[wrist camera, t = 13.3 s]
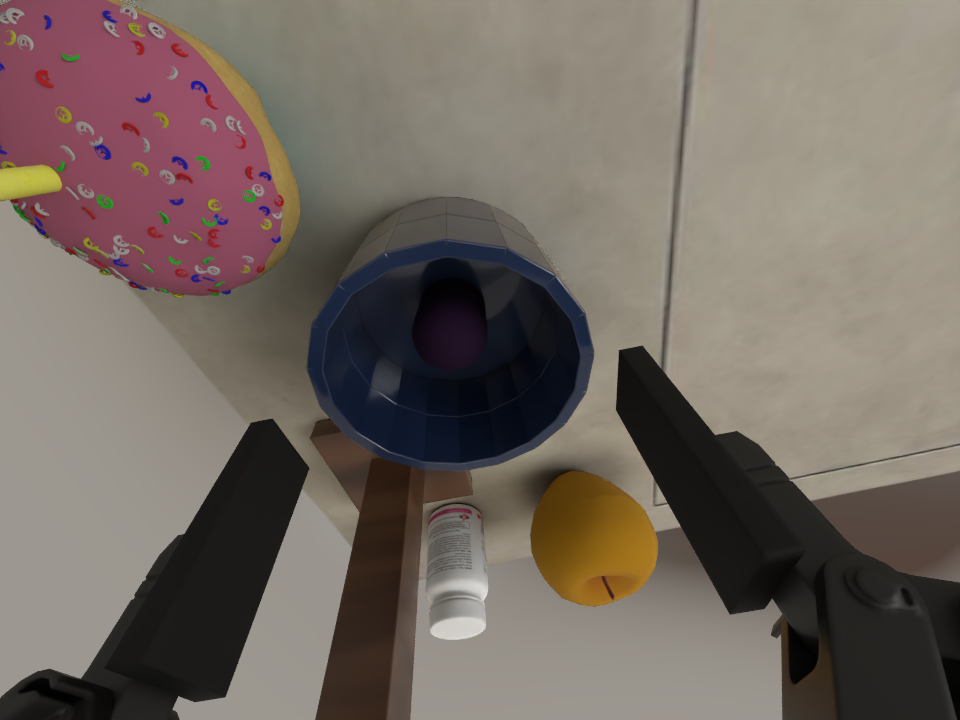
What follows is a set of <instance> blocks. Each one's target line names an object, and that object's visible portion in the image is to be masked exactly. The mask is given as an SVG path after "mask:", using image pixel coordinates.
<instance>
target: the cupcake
mask: <svg viewBox="0 0 960 720" xmlns="http://www.w3.org/2000/svg"><path fill="white" fill-rule="evenodd" d="M5 200H10V201H11V203H12V204H13V207H14V209H15V211H17V213H18V214H19V215H20V217H21V218H22V219H24V220H25V221H27V222H28V223H30V225H31V226H32V227H34V228H36V229H37V232H38V233H39V234H40V235H41V236H42V237H43V238H46V239H48V238H49V237H50V238H49V239H50V241H51V243H52V244H53V245H54V246H56V247H61V248H62V249H65V251H66V252H68V253H69V254H70V255H72V254H74V255H76V256H77V257H79V258H80V259H82V260H84V261H86V262H87V263H89V264H91V265H93V266H95V267H97V268H99V269H101V270H100V271H99V272H100V273H101V274H103V275H114V276H115V277H116V278H118V279H122V280H126V281H128V282H129V285H130V286H131V287H133V288H139V289H142V290H151V291H153V292H156V293H158V290H159V291H163V292H166V293H168V292H169V293H172V295H173V296H175V297H178V298H182V297H184V294H185V295H195V296H204V295H219V294H220V293H222V294H230V293H231V289H234V288H236V287H238V286H241V285H244V284H246V283H249V282H251V281H253V280H255V279H256V278H258V277H259V276H261V275H262V274H264V273H265V272H266V271H268V270H269V269H270V268H272V267H273V266H274V265H275V264H277V263H278V262H279V261H280V260H281V259H282V258H283V256H284V255H285V253H286V252H287V250H288V247H289V245H290V242H291V240H292V238H293V236H294V233H295V231H296V229H297V226H298V223H299V219H300V198H299V190H298V186H297V183H296V180H295V177H294V175H293V172H292V169H291V166H290V163H289V160H288V157H287V155H286V153H285V150H284V148H283V146H282V145H281V143H280V141H279V139H278V138H277V136H276V134H275V133H274V131H273V129H272V127H271V125H270V123H269V121H268V119H267V117H266V115H265V112H264V109H263V106H262V103H261V101H260V99H259V97H258V95H257V93H256V92H255V91H254V89H253V88H252V87H251V86H250V84H249V83H248V82H247V81H246V80H245V79H244V78H243V77H242V76H241V75H240V73H239V72H238V71H237V70H236V69H235V68H234V67H233V66H232V65H231V64H230V63H229V62H228V61H226V60H225V59H224V58H223V57H222V56H220V55H219V54H218V53H217V52H215V51H214V50H213V49H211V48H210V47H209V46H207V45H206V44H205V43H203V42H202V41H200V40H198V39H197V38H195V37H194V36H192V35H190V34H189V33H187V32H185V31H183V30H181V29H180V28H178V27H176V26H174V25H172V24H170V23H168V22H166V21H164V20H161V19H159V18H157V17H155V16H153V15H151V14H149V13H147V12H145V11H142V10H140V9H138V8H136V7H133V6H131V5H129V4H126V3H124V2H122V1H119V0H12V1H9V2H7V3H5V4H2V5H0V201H5ZM44 235H45V236H44ZM62 246H63V247H62ZM103 271H105V272H106V273H104V272H103ZM133 284H134V285H137V284H138V285H137V286H134V285H133ZM141 286H142V287H144V288H142V287H141ZM176 294H178V295H179V294H181V295H179V296H178V295H176Z"/></svg>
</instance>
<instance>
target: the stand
mask: <svg viewBox="0 0 960 720" xmlns="http://www.w3.org/2000/svg"><path fill="white" fill-rule="evenodd" d="M310 439H311V441H312V442H313V444H314V445H315V447H316V448H317V450H318V451H319V453H320V454H321V456H322V457H323V459H324V460H325V461H326V463H327V464H328V466H329V467H330V469H331V470H332V472H333V473H334V475H335V476H336V478H337V479H338V481H339V482H340V484H341V485H342V487H343V488H344V490H345V491H346V493H347V494H348V496H349V497H350V499H351V500H352V502H353V503H354V505H355V506H356V508H357V509H358V511H359V512H360V514H359V519H358V524H357V528H356V533H355V538H354V542H353V547H352V552H351V556H350V561H349V565H348V570H347V575H346V579H345V584H344V589H343V593H342V598H341V603H340V608H339V612H338V617H337V622H336V626H335V631H334V635H333V640H332V645H331V649H330V654H329V658H328V663H327V668H326V673H325V677H324V682H323V686H322V691H321V696H320V700H319V705H318V710H317V714H316V719H315V720H410V714H411V696H412V680H413V663H414V647H415V630H416V614H417V597H418V581H419V564H420V547H421V531H422V514H423V504H424V503H430V502H435V501H441V500H446V499H452V498H458V497H463V496H469V495H473V488H472V478H471V475H470V472H469V470H465V471H444V470H422V469H417V468H414V467H410V466H407V465H403V464H400V463H396V462H393V461H389V460H386V459H383V458H380V457H378V456H377V455H375V454H373V453H372V452H370V451H368V450H367V449H365V448H363V447H362V446H360V445H358V444H357V443H355V442H353V441H352V440H350V439H348V438H347V437H346V436H345V435H344V434H343V433H342V431H341V430H340V429H339V428H338V427H337V426H336V425H335V423H334V422H333V421H332V420H331V419H329V420H324V421H319V422H316V424H315V427H314V429H313V431H312V434H311V436H310Z"/></svg>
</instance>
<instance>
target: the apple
mask: <svg viewBox="0 0 960 720" xmlns="http://www.w3.org/2000/svg"><path fill="white" fill-rule="evenodd" d="M530 537H531V549H532V554H533V557H534V559H535V562H536V564H537V567H538V569H539V570H540V572H541V574H542V576H543V577H544V579H545V580H546V581H547V582H548V584H549V585H550V586H551V587H552V588H553V589H554V590H555V591H556V592H557V593H558V594H559V595H560V596H561V597H562V598H563V599H566V600H569V601H571V602H574V603H577V604H580V605H586V606H593V607H594V606H600V605H605V604H608V603H611V602H614V601H617V600H620V599H622V598H624V597H626V596H628V595H630V594H632V593H635V592H636V591H637V590H639V588H641V587H642V586H643V584H645V582H646V581H647V579H648V578H649V577H650V575H651V573H652V572H653V570H654V568H655V564H656V559H657V552H658V542H657V541H658V540H657V537H656V534H655V531H654V528H653V526H652V524H651V522H650V520H649V518H648V516H647V514H646V512H645V510H644V509H643V508H642V507H641V505H639V504H638V503H637V502H636V501H635V500H634V499H633V498H632V497H630V496H629V495H628V494H627V493H625V492H624V491H622V490H621V489H620V488H618V487H617V486H615V485H614V484H612V483H611V482H609V481H607V480H605V479H603V478H601V477H598V476H596V475H593V474H590V473H587V472H584V471H570V472H567V473H564V474H561V475H560V476H558V477H557V478H556V479H555V480H553V481H552V483H551V484H550V486H549V487H548V488H547V490H546V492H545V493H544V495H543V496H542V498H541V500H540V502H539V504H538V506H537V508H536V510H535V512H534V516H533V521H532V526H531V534H530Z"/></svg>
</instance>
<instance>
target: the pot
mask: <svg viewBox="0 0 960 720" xmlns="http://www.w3.org/2000/svg"><path fill="white" fill-rule="evenodd" d="M446 278H457V279H461V280H464V281H467V282H469V283H470V284H472V285H473V286H474V287H476V288H477V289H478V291H479V292H480V293H481V295H482V297H483V299H484V302H485V307H486V320H487V341H486V345H485V348H484V350H483V352H482V353H481V355H480V356H479V357H478V359H477V360H476V361H475V362H473V363H472V364H471V365H469V366H467V367H465V368H463V369H459V370H452V371H447V370H441V369H438V368H435V367H433V366H431V365H429V364H428V363H427V362H425V361H424V360H423V359H422V358H421V356H420V355H419V354H418V352H417V350H416V348H415V346H414V343H413V338H412V328H413V323H414V319H415V316H416V313H417V310H418V306H419V303H420V300H421V297H422V295H423V293H424V292H425V290H426V289H427V288H428V287H429V286H430V285H431V284H433V283H435V282H437V281H439V280H442V279H446ZM593 359H594V348H593V344H592V339H591V335H590V331H589V326H588V322H587V318H586V314H585V312H584V310H583V308H582V307H581V305H580V304H579V302H578V301H577V299H576V298H575V296H574V295H573V293H572V292H571V290H570V289H569V287H568V286H567V284H566V283H565V282H564V280H563V279H562V277H561V276H560V274H559V273H558V271H557V270H556V268H555V267H554V265H553V264H552V262H551V261H550V259H549V258H548V256H547V255H546V253H545V252H544V251H543V250H542V248H541V247H540V246H539V244H538V243H537V242H536V240H535V239H534V237H533V236H532V235H531V234H530V233H529V231H528V230H527V229H526V227H525V226H524V225H523V224H521V223H520V222H518V221H517V220H516V219H514V218H513V217H512V216H510V215H508V214H507V213H505V212H504V211H502V210H500V209H498V208H496V207H494V206H491V205H489V204H487V203H483V202H480V201H476V200H473V199H466V198H459V197H439V198H433V199H426V200H422V201H419V202H416V203H412V204H410V205H407V206H405V207H403V208H401V209H399V210H397V211H395V212H394V213H392V214H391V215H389V216H388V217H386V218H385V219H383V220H382V221H381V222H380V223H379V224H378V225H377V226H375V227H374V228H372V229H371V230H370V231H369V233H368V235H367V236H366V238H365V239H364V241H363V243H362V244H361V246H360V247H359V249H358V250H357V252H356V254H355V255H354V257H353V258H352V260H351V261H350V263H349V265H348V266H347V268H346V269H345V271H344V273H343V274H342V276H341V277H340V279H339V281H338V282H337V284H336V285H335V287H334V289H333V290H332V292H331V293H330V295H329V297H328V298H327V300H326V301H325V303H324V304H323V306H322V308H321V309H320V311H319V312H318V314H317V316H316V317H315V319H314V320H313V322H312V325H311V328H310V338H309V347H308V357H307V366H306V367H307V371H308V374H309V377H310V380H311V383H312V386H313V388H314V391H315V394H316V397H317V400H318V403H319V405H320V407H321V409H322V410H323V411H324V412H325V413H326V414H327V415H328V417H329V418H330V419H331V420H332V421H333V422H334V423H335V425H336V426H337V427H338V428H339V429H340V430H341V431H342V433H343V434H344V435H345V436H346V437H347V438H348V439H350V440H352V441H353V442H355V443H357V444H358V445H360V446H362V447H363V448H365V449H367V450H368V451H370V452H372V453H373V454H375V455H377V456H378V457H380V458H383V459H386V460H389V461H393V462H396V463H400V464H403V465H407V466H410V467H414V468H417V469H422V470H444V471H465V470H471V469H476V468H482V467H487V466H493V465H498V464H499V463H500V464H501V463H504V462H506V461H508V460H510V459H513V458H515V457H517V456H519V455H522V454H524V453H526V452H528V451H531V450H533V449H535V448H536V447H538V446H539V445H540V444H542V443H543V442H544V441H545V440H547V439H548V438H549V437H550V436H551V435H553V434H554V433H555V432H556V431H558V430H559V429H560V428H561V427H563V426H564V425H565V423H567V421H568V420H569V418H570V417H571V415H572V414H573V412H574V411H575V409H576V408H577V406H578V404H579V403H580V401H581V400H582V398H583V397H584V395H585V394H586V391H587V388H588V383H589V378H590V373H591V368H592V363H593Z"/></svg>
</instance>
